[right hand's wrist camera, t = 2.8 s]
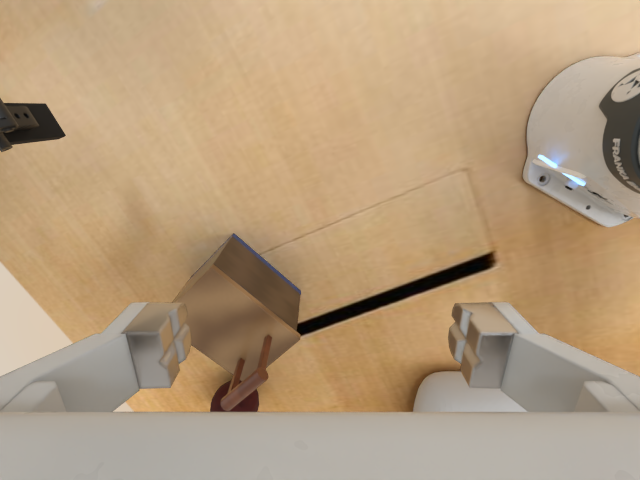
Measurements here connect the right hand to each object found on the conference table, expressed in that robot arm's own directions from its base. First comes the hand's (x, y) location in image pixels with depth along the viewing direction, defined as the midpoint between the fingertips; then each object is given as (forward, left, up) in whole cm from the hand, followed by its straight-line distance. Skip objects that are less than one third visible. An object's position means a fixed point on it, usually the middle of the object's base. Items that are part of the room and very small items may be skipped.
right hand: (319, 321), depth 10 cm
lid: (-3, +21, -26) cm, 34 cm away
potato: (-13, +38, -36) cm, 54 cm away
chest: (-3, +21, -36) cm, 42 cm away
